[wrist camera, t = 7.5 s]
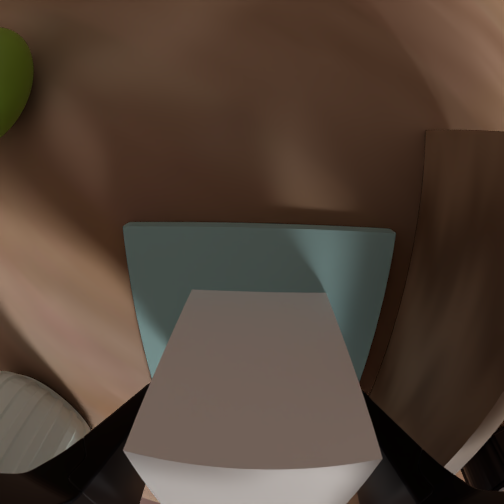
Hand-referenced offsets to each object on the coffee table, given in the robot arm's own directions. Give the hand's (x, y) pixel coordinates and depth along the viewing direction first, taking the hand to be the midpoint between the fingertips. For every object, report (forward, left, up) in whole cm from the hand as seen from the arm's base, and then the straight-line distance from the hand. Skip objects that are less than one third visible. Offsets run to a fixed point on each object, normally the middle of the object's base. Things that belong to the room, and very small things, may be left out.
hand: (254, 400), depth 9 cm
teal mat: (0, 0, -4) cm, 4 cm away
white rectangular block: (0, 0, -3) cm, 3 cm away
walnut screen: (-2, -7, -4) cm, 8 cm away
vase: (-10, +16, -4) cm, 19 cm away
